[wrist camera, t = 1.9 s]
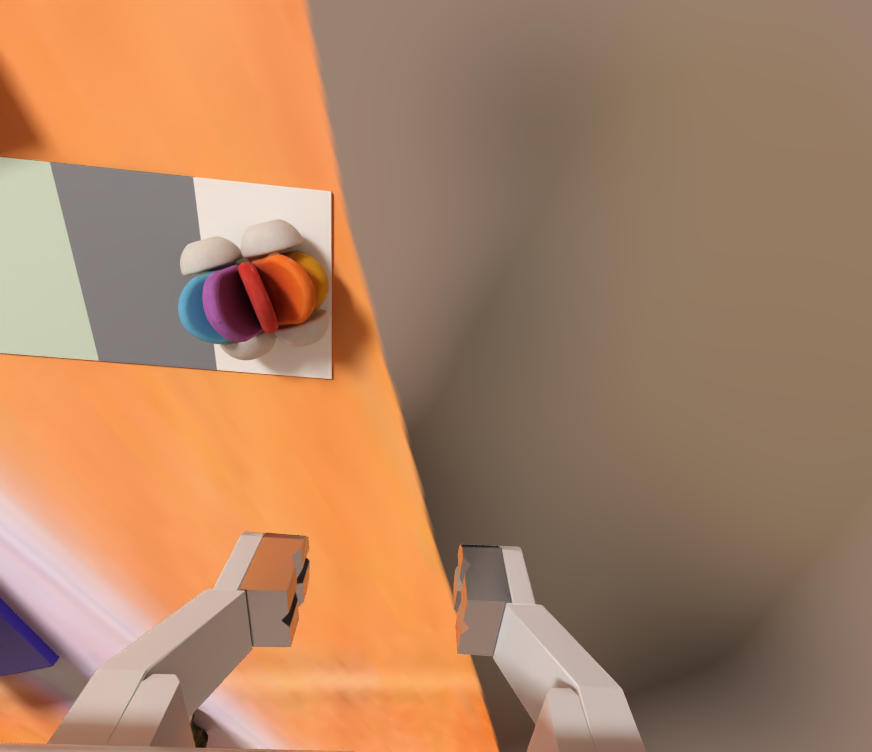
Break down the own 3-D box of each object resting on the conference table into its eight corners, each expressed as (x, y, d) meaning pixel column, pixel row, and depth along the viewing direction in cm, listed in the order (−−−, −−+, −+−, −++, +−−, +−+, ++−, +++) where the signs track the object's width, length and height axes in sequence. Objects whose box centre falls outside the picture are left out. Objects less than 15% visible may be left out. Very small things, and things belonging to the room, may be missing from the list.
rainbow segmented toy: (350, 324, 33) (332, 361, 27) (232, 353, 34) (185, 397, 27) (310, 208, 30) (277, 219, 23) (179, 244, 30) (111, 264, 24)
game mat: (-96, 146, 28) (-100, 146, 28) (331, 191, 29) (331, 191, 29) (-21, 350, 34) (-23, 351, 33) (332, 378, 35) (331, 379, 35)
